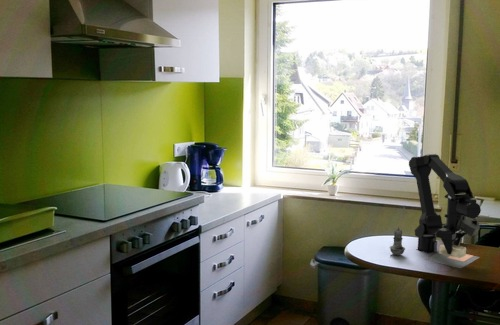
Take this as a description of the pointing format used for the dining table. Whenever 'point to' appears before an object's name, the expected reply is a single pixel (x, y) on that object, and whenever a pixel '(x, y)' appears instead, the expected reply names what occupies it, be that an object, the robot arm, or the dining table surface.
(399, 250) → the grey tower figurine
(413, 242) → the dining table surface
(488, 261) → the dining table surface
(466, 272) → the dining table surface
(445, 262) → the mat
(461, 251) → the cream block
